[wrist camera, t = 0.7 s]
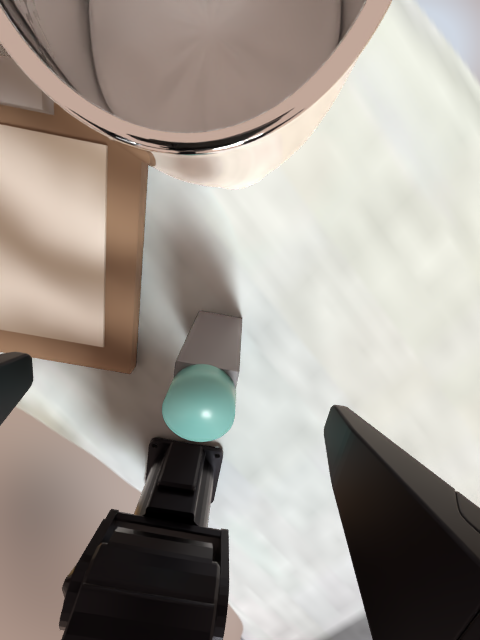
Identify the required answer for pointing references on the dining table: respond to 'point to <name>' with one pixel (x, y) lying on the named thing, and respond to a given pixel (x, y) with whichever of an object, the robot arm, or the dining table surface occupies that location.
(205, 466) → the robot arm
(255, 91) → the metal tumbler
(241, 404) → the dining table surface
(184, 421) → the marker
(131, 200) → the wooden tray
